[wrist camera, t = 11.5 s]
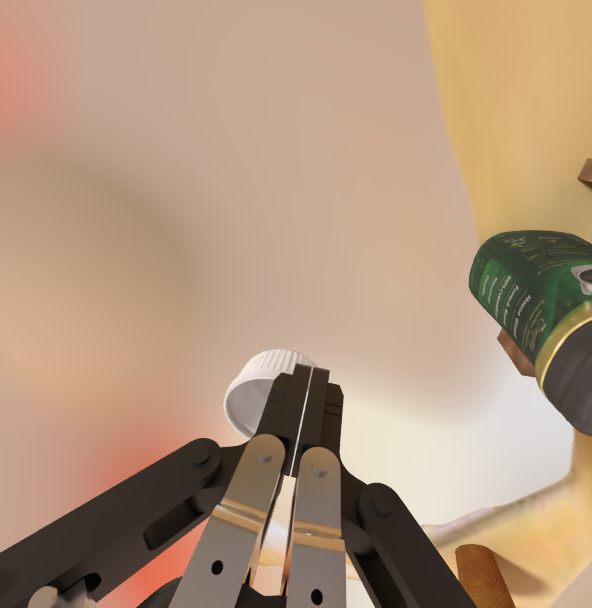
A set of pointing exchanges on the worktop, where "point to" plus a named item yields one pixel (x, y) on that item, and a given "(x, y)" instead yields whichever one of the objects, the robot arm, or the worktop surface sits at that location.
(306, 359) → the ramekin
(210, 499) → the robot arm
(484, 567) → the disposable coffee cup
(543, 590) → the worktop surface
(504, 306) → the coffee jar
